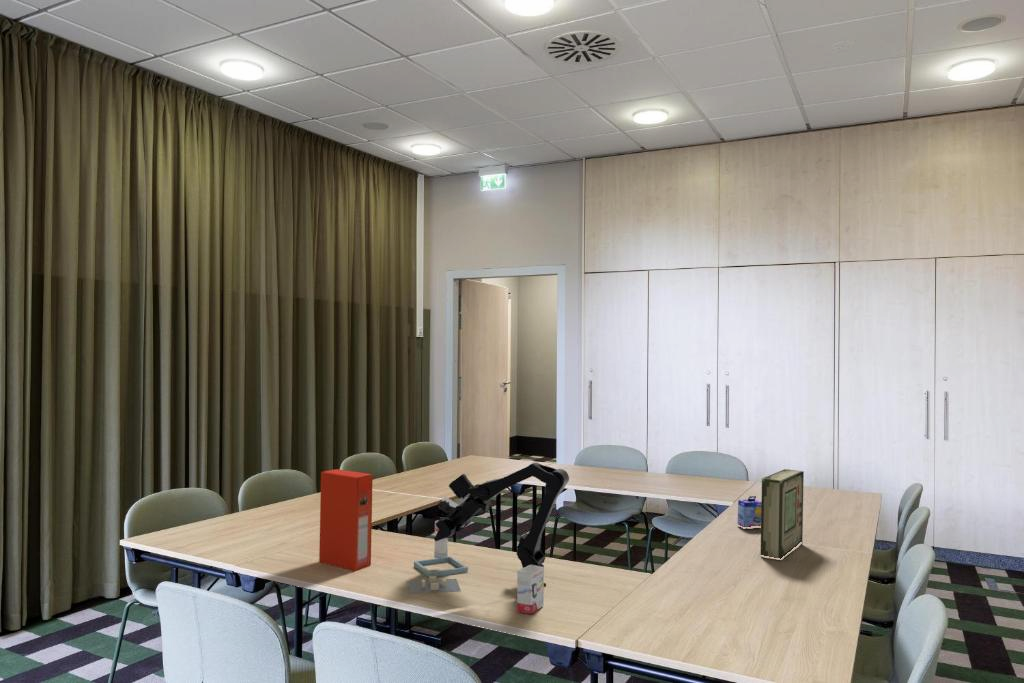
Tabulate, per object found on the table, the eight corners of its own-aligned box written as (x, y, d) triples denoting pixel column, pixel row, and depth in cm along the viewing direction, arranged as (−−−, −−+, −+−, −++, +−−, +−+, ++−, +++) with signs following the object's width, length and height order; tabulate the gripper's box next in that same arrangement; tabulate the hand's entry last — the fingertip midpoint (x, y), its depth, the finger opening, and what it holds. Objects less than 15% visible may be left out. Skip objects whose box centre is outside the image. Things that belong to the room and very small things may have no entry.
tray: (450, 563, 247) (450, 556, 247) (467, 574, 235) (467, 567, 235) (413, 568, 240) (413, 561, 240) (429, 580, 228) (429, 573, 228)
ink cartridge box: (744, 530, 305) (744, 497, 305) (736, 527, 310) (737, 494, 310) (763, 528, 307) (763, 496, 308) (755, 525, 313) (755, 493, 313)
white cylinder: (448, 554, 240) (449, 520, 240) (446, 558, 235) (447, 523, 235) (435, 554, 240) (435, 519, 240) (433, 558, 235) (434, 523, 235)
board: (456, 581, 227) (456, 573, 228) (460, 594, 216) (461, 585, 216) (407, 583, 224) (407, 575, 224) (409, 596, 212) (409, 587, 213)
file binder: (354, 571, 235) (356, 477, 236) (318, 562, 244) (321, 471, 245) (370, 565, 242) (373, 474, 243) (335, 557, 251) (337, 468, 252)
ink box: (530, 615, 200) (531, 574, 200) (515, 611, 203) (516, 571, 203) (544, 606, 208) (545, 566, 208) (529, 602, 210) (530, 563, 210)
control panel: (780, 561, 259) (782, 481, 260) (760, 557, 264) (761, 478, 264) (802, 544, 283) (803, 471, 283) (783, 541, 288) (784, 469, 288)
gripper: (463, 486, 246) (434, 514, 249) (441, 496, 228) (410, 526, 231) (483, 510, 243) (454, 538, 246) (463, 522, 225) (431, 552, 228)
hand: (437, 538), depth 238 cm, fingers closed on white cylinder, 4 cm apart
